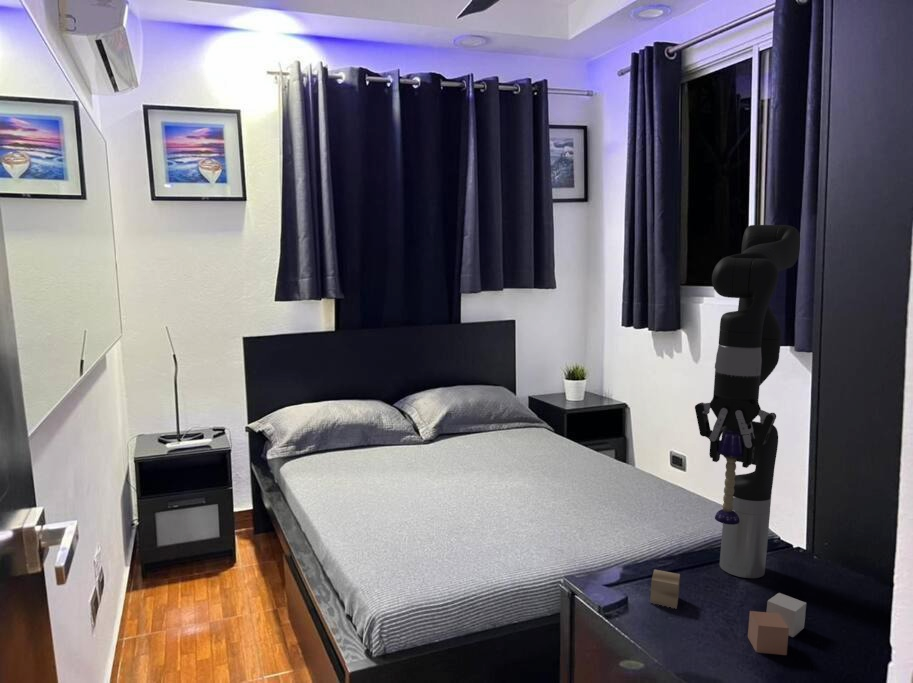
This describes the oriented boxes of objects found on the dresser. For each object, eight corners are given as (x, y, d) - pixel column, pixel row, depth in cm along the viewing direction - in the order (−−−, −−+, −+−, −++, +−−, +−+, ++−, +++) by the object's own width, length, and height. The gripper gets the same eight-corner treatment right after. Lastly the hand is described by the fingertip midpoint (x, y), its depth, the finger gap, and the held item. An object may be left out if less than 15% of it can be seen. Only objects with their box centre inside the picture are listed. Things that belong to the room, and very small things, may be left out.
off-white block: (776, 617, 130) (778, 592, 130) (804, 628, 127) (806, 602, 126) (765, 626, 127) (767, 600, 126) (792, 637, 123) (795, 611, 123)
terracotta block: (747, 637, 123) (749, 610, 122) (776, 639, 122) (779, 613, 122) (756, 652, 118) (758, 625, 117) (786, 655, 117) (788, 628, 117)
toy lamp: (742, 527, 122) (749, 436, 120) (714, 524, 123) (721, 434, 121) (736, 517, 127) (743, 429, 125) (710, 514, 128) (717, 427, 126)
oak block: (652, 592, 139) (654, 569, 138) (678, 597, 137) (680, 574, 136) (650, 603, 134) (651, 579, 133) (676, 609, 132) (678, 584, 132)
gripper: (785, 373, 120) (777, 467, 122) (703, 364, 129) (697, 451, 131) (775, 378, 114) (767, 477, 116) (690, 368, 123) (684, 460, 125)
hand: (730, 463), depth 124 cm, fingers closed on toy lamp, 4 cm apart
